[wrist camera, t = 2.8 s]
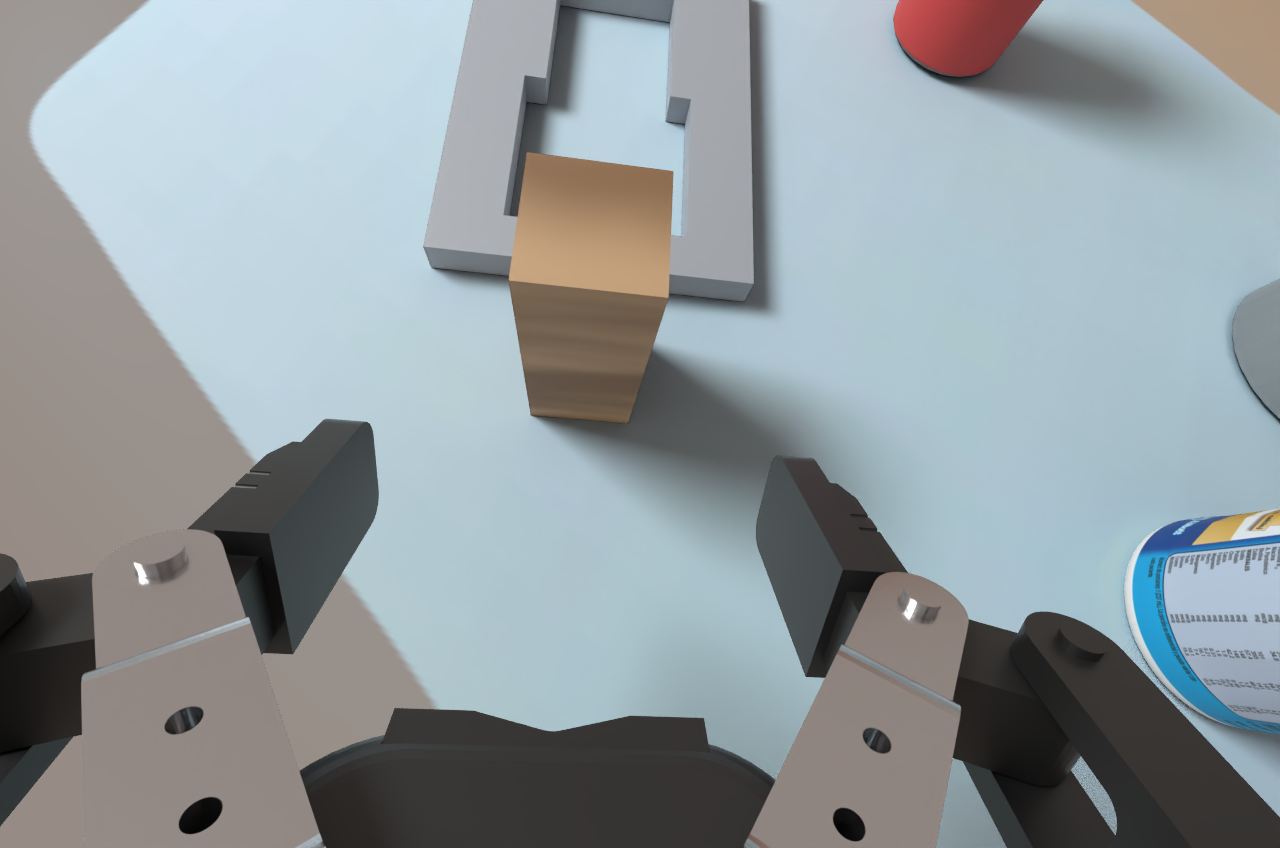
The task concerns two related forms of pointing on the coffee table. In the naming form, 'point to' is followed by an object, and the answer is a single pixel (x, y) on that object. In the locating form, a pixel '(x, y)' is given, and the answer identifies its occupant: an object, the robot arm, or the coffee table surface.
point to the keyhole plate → (519, 73)
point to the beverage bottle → (1212, 614)
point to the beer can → (959, 32)
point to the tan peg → (589, 282)
